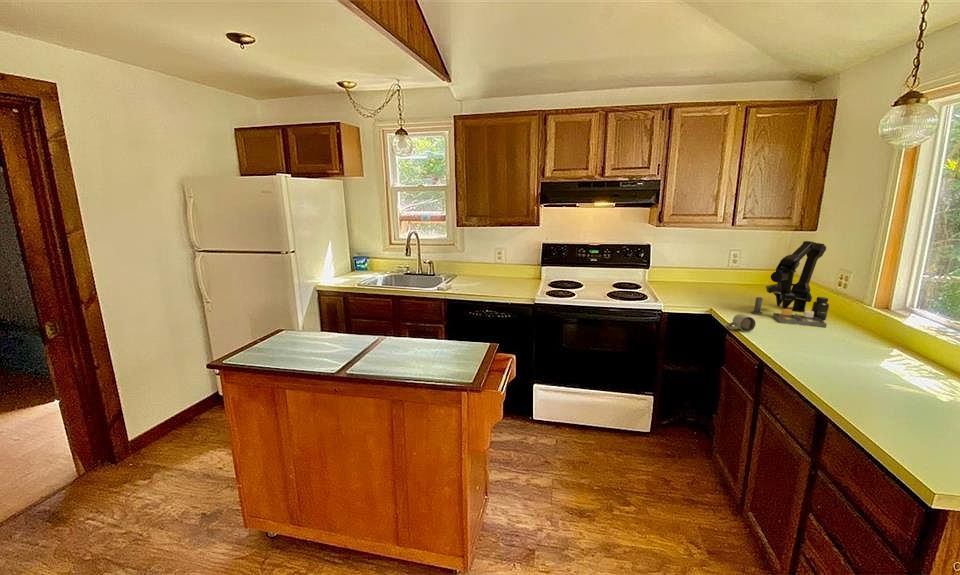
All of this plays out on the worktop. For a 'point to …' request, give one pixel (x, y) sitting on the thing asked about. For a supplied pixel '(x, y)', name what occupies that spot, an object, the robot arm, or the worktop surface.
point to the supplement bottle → (820, 308)
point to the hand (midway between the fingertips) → (780, 308)
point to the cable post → (757, 306)
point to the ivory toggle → (808, 314)
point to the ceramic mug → (743, 323)
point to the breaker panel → (799, 320)
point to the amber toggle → (786, 312)
